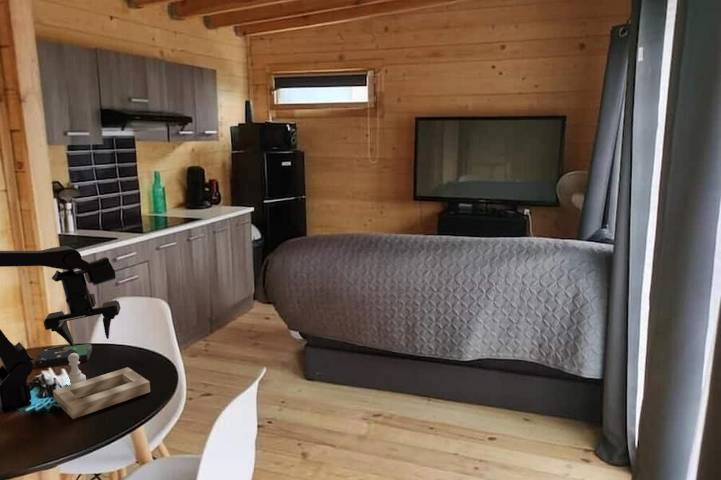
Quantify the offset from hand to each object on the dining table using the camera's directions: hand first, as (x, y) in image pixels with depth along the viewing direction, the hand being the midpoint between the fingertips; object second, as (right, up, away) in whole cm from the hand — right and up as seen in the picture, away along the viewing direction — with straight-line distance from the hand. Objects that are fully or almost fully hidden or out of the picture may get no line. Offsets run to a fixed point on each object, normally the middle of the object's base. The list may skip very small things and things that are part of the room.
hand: (90, 342), depth 154 cm
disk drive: (-18, -9, +19) cm, 28 cm away
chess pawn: (-5, -12, +1) cm, 13 cm away
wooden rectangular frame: (+7, -13, -7) cm, 16 cm away
